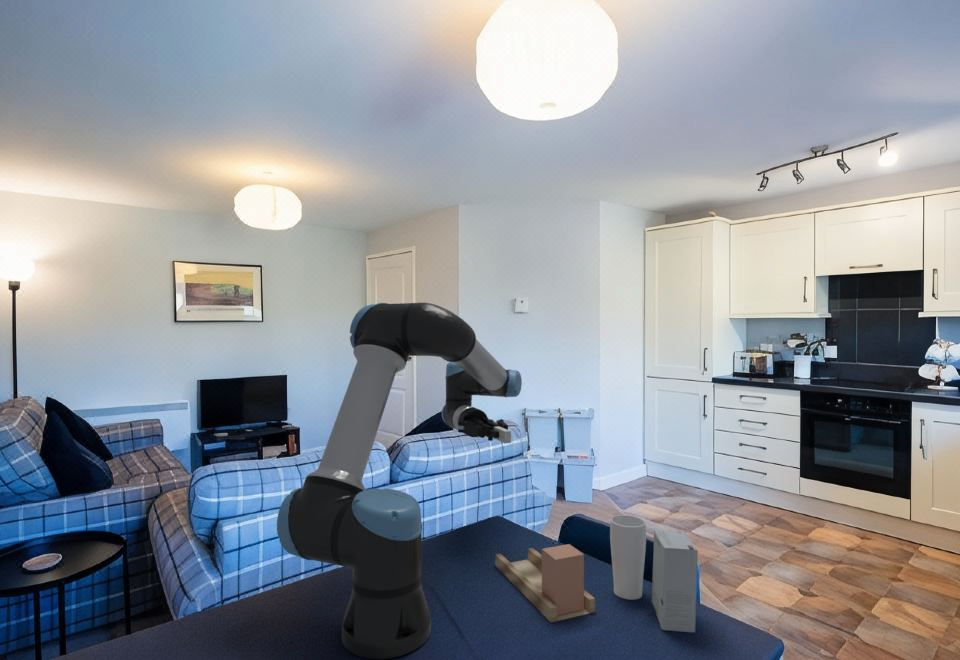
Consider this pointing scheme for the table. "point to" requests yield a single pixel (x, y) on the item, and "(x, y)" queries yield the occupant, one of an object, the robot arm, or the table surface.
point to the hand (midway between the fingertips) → (507, 437)
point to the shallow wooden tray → (537, 585)
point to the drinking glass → (628, 555)
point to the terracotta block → (563, 578)
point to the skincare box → (674, 580)
